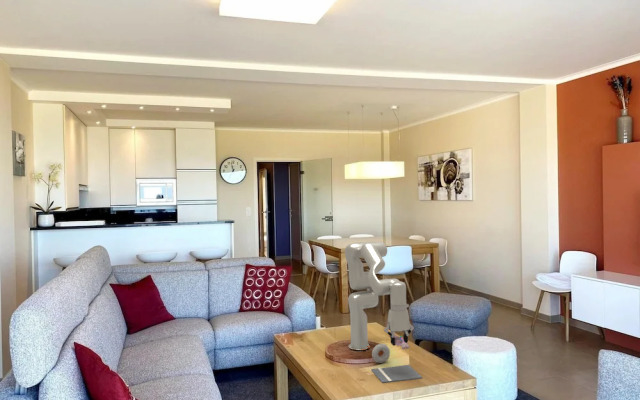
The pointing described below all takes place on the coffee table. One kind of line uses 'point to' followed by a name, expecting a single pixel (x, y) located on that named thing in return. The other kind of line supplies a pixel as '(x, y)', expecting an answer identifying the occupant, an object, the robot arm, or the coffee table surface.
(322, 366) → the coffee table surface
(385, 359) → the donut
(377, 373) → the mat
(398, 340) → the rabbit figure
